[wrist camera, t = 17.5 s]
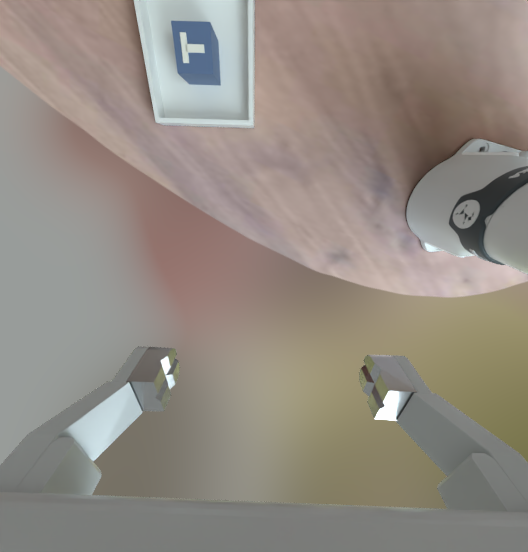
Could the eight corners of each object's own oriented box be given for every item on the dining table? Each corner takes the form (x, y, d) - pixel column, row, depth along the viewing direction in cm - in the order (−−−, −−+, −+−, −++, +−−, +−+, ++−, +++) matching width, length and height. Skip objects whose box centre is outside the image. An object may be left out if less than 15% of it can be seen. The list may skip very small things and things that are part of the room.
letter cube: (218, 41, 28) (209, 21, 24) (220, 85, 30) (213, 73, 26) (184, 40, 28) (170, 19, 24) (189, 84, 30) (177, 72, 26)
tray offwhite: (254, -10, 26) (253, -28, 24) (254, 128, 33) (252, 125, 31) (142, -13, 26) (128, -32, 24) (164, 125, 33) (155, 122, 31)
